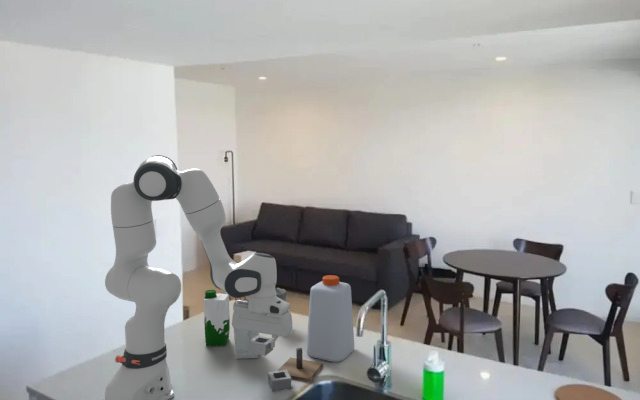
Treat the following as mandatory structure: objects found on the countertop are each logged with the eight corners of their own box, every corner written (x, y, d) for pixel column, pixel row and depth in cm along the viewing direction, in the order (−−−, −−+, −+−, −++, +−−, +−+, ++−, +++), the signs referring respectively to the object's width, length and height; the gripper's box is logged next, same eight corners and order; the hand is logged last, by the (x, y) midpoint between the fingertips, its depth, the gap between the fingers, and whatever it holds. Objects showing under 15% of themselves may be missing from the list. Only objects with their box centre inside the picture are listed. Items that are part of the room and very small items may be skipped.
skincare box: (259, 351, 177) (259, 312, 175) (258, 359, 171) (257, 318, 169) (236, 352, 176) (235, 312, 174) (234, 359, 170) (233, 318, 168)
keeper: (309, 381, 154) (309, 359, 153) (275, 375, 159) (275, 353, 158) (322, 365, 165) (322, 344, 165) (290, 360, 170) (290, 339, 169)
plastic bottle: (321, 340, 186) (321, 269, 183) (358, 348, 179) (358, 274, 176) (302, 356, 173) (301, 279, 169) (340, 365, 166) (341, 285, 163)
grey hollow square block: (265, 356, 153) (265, 345, 152) (248, 352, 155) (248, 341, 154) (273, 349, 158) (274, 339, 158) (256, 345, 160) (257, 335, 160)
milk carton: (208, 337, 189) (207, 287, 187) (231, 337, 189) (230, 287, 186) (202, 347, 180) (201, 294, 178) (227, 347, 180) (225, 295, 178)
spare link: (291, 388, 150) (291, 378, 150) (272, 391, 148) (272, 381, 148) (286, 379, 156) (286, 369, 155) (268, 382, 154) (268, 372, 153)
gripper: (228, 301, 156) (227, 343, 157) (286, 310, 149) (285, 354, 150) (238, 296, 162) (237, 337, 163) (295, 304, 155) (293, 347, 156)
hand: (261, 345), depth 156 cm, fingers closed on grey hollow square block, 6 cm apart
